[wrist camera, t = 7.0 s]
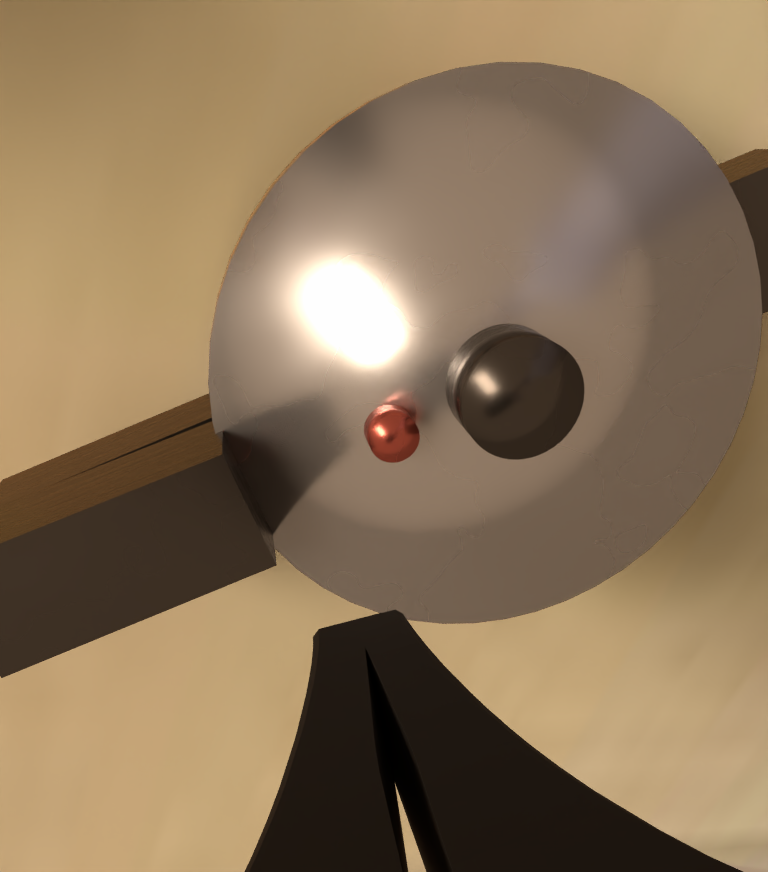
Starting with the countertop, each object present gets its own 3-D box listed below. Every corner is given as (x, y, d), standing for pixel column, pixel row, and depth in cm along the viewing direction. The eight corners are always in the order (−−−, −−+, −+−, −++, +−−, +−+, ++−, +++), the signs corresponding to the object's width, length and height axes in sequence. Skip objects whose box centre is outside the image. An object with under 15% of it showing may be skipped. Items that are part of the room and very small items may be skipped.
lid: (695, -26, 13) (768, -54, 12) (765, 493, 18) (825, 530, 16) (-185, 306, 13) (-256, 333, 11) (128, 760, 17) (116, 832, 15)
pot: (672, -11, 18) (800, -57, 14) (736, 382, 22) (848, 432, 18) (-71, 290, 17) (-163, 333, 13) (151, 635, 21) (133, 746, 17)
